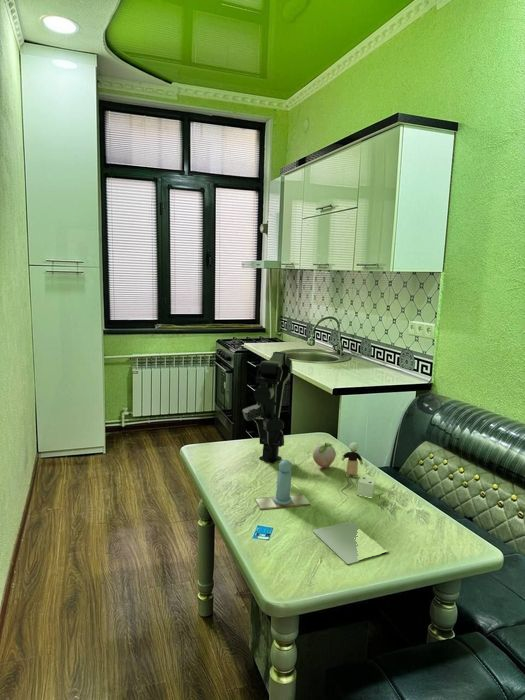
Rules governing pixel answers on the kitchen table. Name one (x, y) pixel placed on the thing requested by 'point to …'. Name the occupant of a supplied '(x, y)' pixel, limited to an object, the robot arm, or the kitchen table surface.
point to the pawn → (283, 483)
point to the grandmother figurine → (352, 460)
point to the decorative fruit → (324, 455)
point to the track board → (270, 504)
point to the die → (366, 486)
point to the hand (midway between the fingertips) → (265, 442)
